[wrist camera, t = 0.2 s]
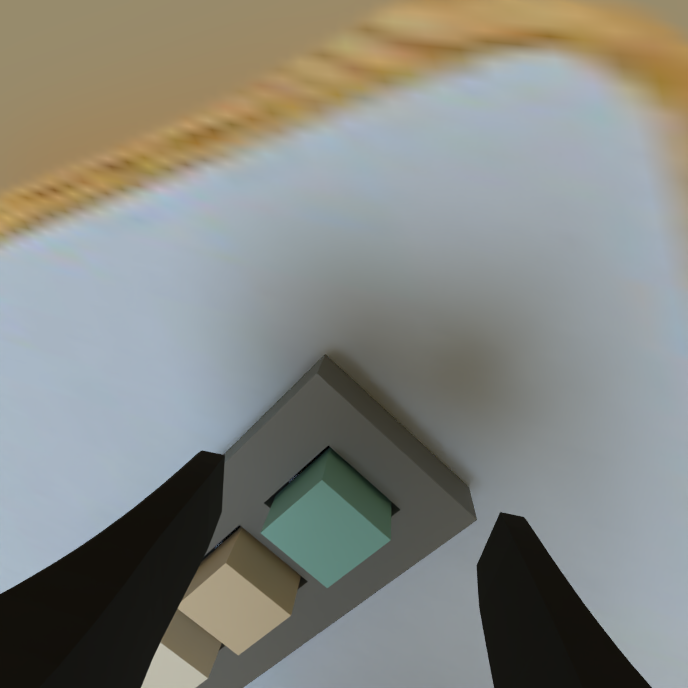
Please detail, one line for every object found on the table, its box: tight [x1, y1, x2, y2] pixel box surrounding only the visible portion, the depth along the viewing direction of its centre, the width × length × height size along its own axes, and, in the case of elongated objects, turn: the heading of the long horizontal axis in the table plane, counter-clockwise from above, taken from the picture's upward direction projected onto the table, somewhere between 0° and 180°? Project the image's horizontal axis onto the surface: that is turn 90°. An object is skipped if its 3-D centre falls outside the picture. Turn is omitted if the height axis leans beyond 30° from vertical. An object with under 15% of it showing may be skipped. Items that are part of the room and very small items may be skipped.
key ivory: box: [141, 609, 222, 688], centre depth 24 cm, size 4×4×3 cm
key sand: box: [178, 527, 301, 655], centre depth 23 cm, size 4×4×3 cm
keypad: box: [196, 355, 477, 688], centre depth 24 cm, size 22×10×2 cm, turn 136°
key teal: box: [261, 447, 391, 588], centre depth 21 cm, size 4×4×3 cm
